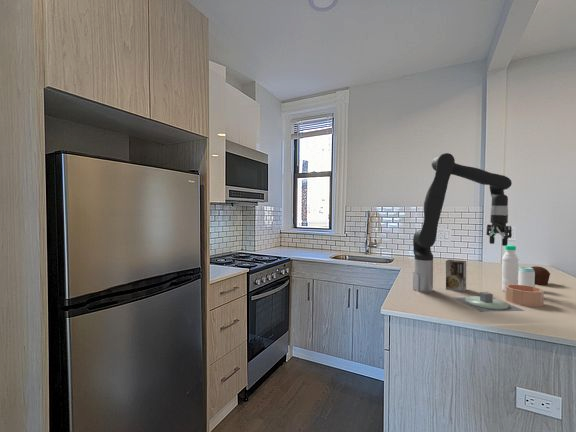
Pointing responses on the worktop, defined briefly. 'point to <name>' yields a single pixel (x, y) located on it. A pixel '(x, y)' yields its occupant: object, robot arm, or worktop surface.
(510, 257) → the water bottle
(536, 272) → the muffin
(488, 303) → the lid
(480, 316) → the worktop surface
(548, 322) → the worktop surface
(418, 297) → the worktop surface
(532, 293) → the bowl
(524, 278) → the can
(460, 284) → the coffee box
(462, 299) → the mat
